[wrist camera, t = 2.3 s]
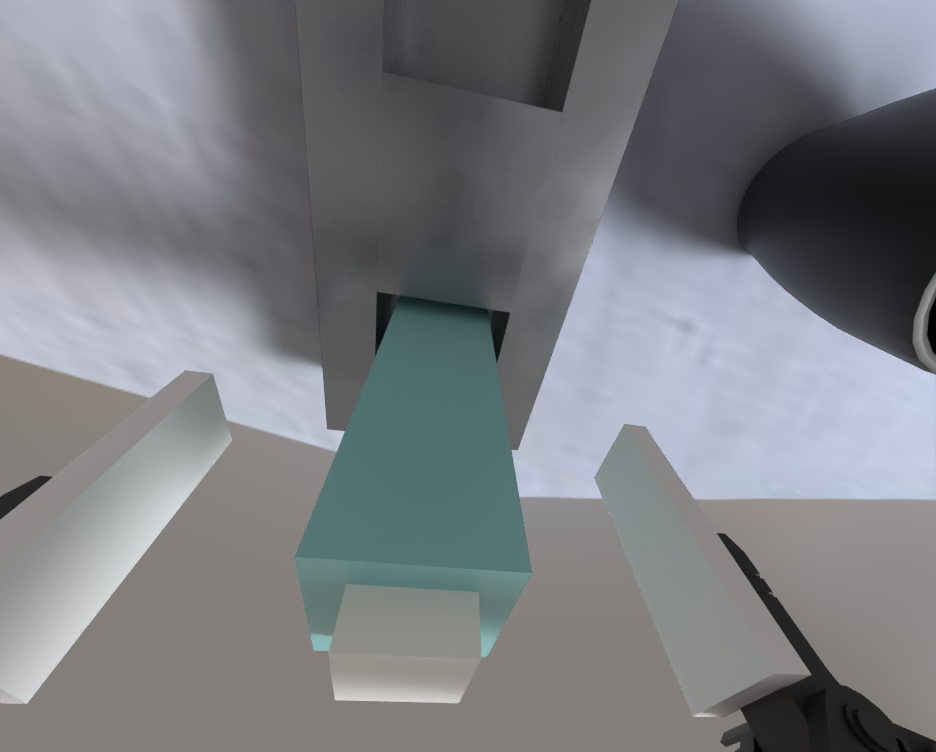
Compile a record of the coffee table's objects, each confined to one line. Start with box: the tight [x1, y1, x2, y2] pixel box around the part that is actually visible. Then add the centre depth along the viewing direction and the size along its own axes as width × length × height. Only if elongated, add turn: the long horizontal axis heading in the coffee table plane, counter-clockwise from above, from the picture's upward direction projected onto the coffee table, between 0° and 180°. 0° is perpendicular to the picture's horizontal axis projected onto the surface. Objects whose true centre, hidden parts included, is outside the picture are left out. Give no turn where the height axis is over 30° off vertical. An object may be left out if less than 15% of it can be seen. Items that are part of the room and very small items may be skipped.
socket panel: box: [295, 0, 679, 450], centre depth 14 cm, size 22×10×5 cm, turn 170°
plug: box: [295, 295, 532, 703], centre depth 12 cm, size 4×4×15 cm
